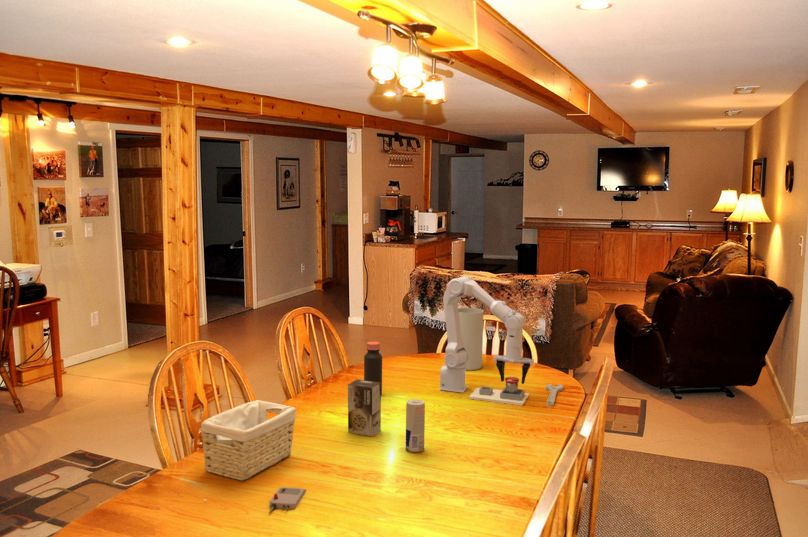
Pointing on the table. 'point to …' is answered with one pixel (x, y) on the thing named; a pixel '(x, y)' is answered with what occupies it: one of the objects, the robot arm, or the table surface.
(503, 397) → the socket board
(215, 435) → the storage basket
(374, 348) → the bottle
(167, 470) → the table surface
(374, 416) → the coffee box
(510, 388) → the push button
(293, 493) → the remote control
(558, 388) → the adjustable wrench
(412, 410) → the beverage can
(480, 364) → the cylinder vase
